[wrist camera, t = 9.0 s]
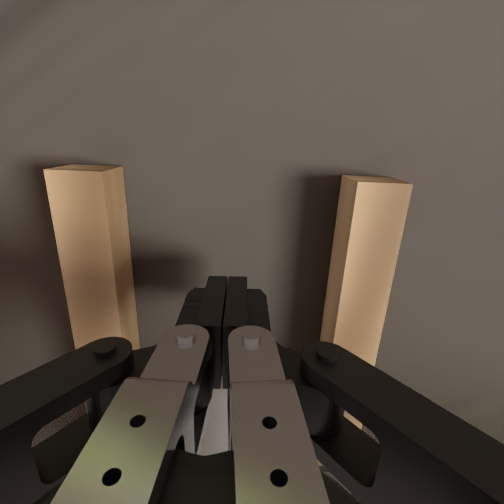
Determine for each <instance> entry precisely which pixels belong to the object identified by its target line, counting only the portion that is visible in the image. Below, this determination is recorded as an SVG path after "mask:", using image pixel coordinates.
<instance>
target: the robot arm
mask: <svg viewBox="0 0 504 504" xmlns="http://www.w3.org/2000/svg"><path fill="white" fill-rule="evenodd" d="M222 369H223V389H228V394H227V397H228V398H227V420H228V451H225V452H220V453H216V454H212V455H207V456H202V455H200V453H201V449H202V444H203V440H204V435H205V431H206V426H207V422H208V417H209V413H210V401H211V399H212V393H213V389H221V379H222ZM84 401H85V404H86V410H87V413H86V414H85V415H83V416H81V417H80V418H78V419H77V420H75V421H74V422H72V423H70V424H69V425H67V426H66V427H64V428H63V429H61V430H60V431H58V432H56V433H55V434H53V435H52V436H50V437H49V438H47V439H45V440H44V441H42V442H41V443H39V444H38V445H36V446H34V447H33V448H31V444H32V440H33V438H34V436H35V435H36V434H37V432H38V431H39V430H40V429H41V428H42V427H44V426H45V425H47V424H48V423H50V422H51V421H53V420H55V419H56V418H58V417H60V416H61V415H63V414H65V413H66V412H68V411H70V410H71V409H73V408H74V407H76V406H78V405H79V404H81V403H83V402H84ZM344 411H346V412H347V413H349V414H350V415H351V416H353V417H354V418H355V419H357V420H358V421H359V422H360V423H362V424H363V425H364V426H366V427H367V428H368V429H369V430H371V431H372V432H373V433H374V434H375V436H376V437H377V439H378V440H379V442H380V444H379V443H377V442H376V441H375V440H374V439H372V438H371V437H370V436H369V435H367V434H366V433H365V432H363V431H362V430H361V429H360V428H358V427H357V426H356V425H355V424H353V423H352V422H351V421H349V420H348V419H347V418H346V417H344ZM317 460H318V461H319V462H320V463H321V464H322V465H323V466H324V467H325V468H326V469H327V470H328V471H329V472H330V473H331V474H332V475H333V476H334V477H335V478H337V479H338V480H339V481H340V482H341V483H342V484H343V485H344V486H345V487H346V488H347V489H348V490H349V491H350V492H351V493H352V494H353V495H354V496H355V497H356V498H357V499H358V500H359V501H360V502H361V503H362V504H504V445H503V444H502V443H500V442H499V441H497V440H495V439H494V438H492V437H490V436H489V435H487V434H485V433H484V432H482V431H480V430H479V429H477V428H475V427H474V426H472V425H470V424H469V423H467V422H465V421H464V420H462V419H460V418H459V417H457V416H455V415H454V414H452V413H450V412H449V411H447V410H445V409H444V408H442V407H441V406H439V405H437V404H436V403H434V402H432V401H431V400H429V399H427V398H426V397H424V396H422V395H421V394H419V393H417V392H416V391H414V390H412V389H411V388H409V387H407V386H406V385H404V384H402V383H401V382H399V381H397V380H396V379H394V378H392V377H391V376H389V375H388V374H386V373H384V372H383V371H381V370H379V369H378V368H376V367H374V366H373V365H371V364H369V363H368V362H366V361H364V360H363V359H361V358H359V357H358V356H356V355H354V354H353V353H351V352H349V351H348V350H346V349H344V348H343V347H341V346H339V345H337V344H334V343H331V342H325V341H316V342H312V343H309V344H307V345H306V346H305V347H304V348H303V350H302V352H299V351H294V350H291V349H287V348H285V347H283V346H281V345H279V344H278V343H277V342H276V341H275V337H274V335H273V334H272V333H271V329H270V321H269V313H268V305H267V298H266V295H265V294H264V293H263V292H262V291H261V290H260V289H247V277H234V276H229V279H228V277H227V276H209V278H208V281H207V285H206V288H194V289H193V290H191V291H190V292H189V293H188V294H187V296H186V298H185V302H184V304H183V307H182V309H181V312H180V315H179V318H178V320H177V323H176V326H175V327H173V328H171V329H169V330H167V331H166V332H165V333H164V334H163V336H162V337H161V339H160V341H159V343H158V345H155V346H152V347H147V348H142V349H137V350H133V348H132V344H131V342H130V341H129V340H127V339H125V338H122V337H105V338H101V339H98V340H95V341H92V342H90V343H88V344H86V345H84V346H82V347H80V348H78V349H76V350H74V351H71V352H69V353H67V354H65V355H63V356H61V357H59V358H57V359H55V360H53V361H50V362H48V363H46V364H44V365H42V366H40V367H38V368H36V369H34V370H32V371H29V372H27V373H25V374H23V375H21V376H19V377H17V378H15V379H13V380H11V381H8V382H6V383H4V384H2V385H0V504H360V503H359V502H358V501H357V500H356V499H355V498H354V497H353V496H352V495H351V494H350V493H349V492H348V491H347V490H346V489H345V488H344V487H342V486H341V485H340V484H339V483H338V482H336V481H335V480H334V479H332V478H331V477H330V476H328V475H327V474H325V473H323V472H321V471H320V468H319V465H318V461H317Z"/></svg>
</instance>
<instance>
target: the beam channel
mask: <svg viewBox="0 0 504 504" xmlns="http://www.w3.org/2000/svg"><path fill="white" fill-rule="evenodd" d="M43 170H44V176H45V182H46V187H47V193H48V198H49V204H50V210H51V215H52V221H53V226H54V232H55V238H56V243H57V249H58V254H59V260H60V266H61V271H62V277H63V283H64V288H65V294H66V299H67V305H68V311H69V316H70V322H71V327H72V333H73V339H74V344H75V350H76V349H78V348H80V347H82V346H84V345H86V344H88V343H90V342H92V341H95V340H98V339H101V338H105V337H122V338H125V339H127V340H129V341H130V342H131V344H132V348H133V350H137V349H140V343H139V333H138V322H137V311H136V301H135V290H134V280H133V269H132V259H131V248H130V238H129V227H128V217H127V206H126V196H125V185H124V175H123V166H103V165H78V164H72V165H66V166H60V167H54V168H48V169H43ZM412 187H413V184H411V183H408V182H405V181H401V180H398V179H395V178H391V177H377V176H352V175H342V180H341V187H340V194H339V202H338V209H337V217H336V224H335V231H334V239H333V246H332V254H331V261H330V268H329V276H328V283H327V291H326V298H325V305H324V313H323V320H322V328H321V335H320V341H325V342H331V343H334V344H337V345H339V346H341V347H343V348H344V349H346V350H348V351H349V352H351V353H353V354H354V355H356V356H358V357H359V358H361V359H363V360H364V361H366V362H368V363H369V364H371V365H373V366H375V362H376V357H377V352H378V347H379V343H380V338H381V333H382V329H383V324H384V319H385V314H386V310H387V305H388V300H389V296H390V291H391V286H392V281H393V277H394V272H395V267H396V262H397V258H398V253H399V248H400V244H401V239H402V234H403V229H404V225H405V220H406V215H407V211H408V206H409V201H410V196H411V192H412ZM85 406H86V404H85ZM86 412H87V410H86ZM344 417H346V418H347V419H348V420H349V421H351V422H352V423H353V424H355V425H356V426H357V427H358V428H360V429H361V428H362V423H360V422H359V421H358V420H357V419H355V418H354V417H353V416H351V415H350V414H349V413H347V412H346V411H344ZM317 461H318V460H317ZM318 465H319V468H320V471H321V472H323V473H325V474H327V475H328V476H330V477H331V478H332V479H334V480H335V481H336V482H338V483H339V484H340V485H341V486H342V487H344V488H345V489H346V490H347V491H348V492H349V493H350V494H352V493H351V492H350V491H349V490H348V489H347V488H346V487H345V486H344V485H343V484H342V483H341V482H340V481H339V480H338V479H337V478H335V477H334V476H333V475H332V474H331V473H330V472H329V471H328V470H327V469H326V468H325V467H324V466H323V465H322V464H321V463H320V462H319V461H318Z"/></svg>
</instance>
